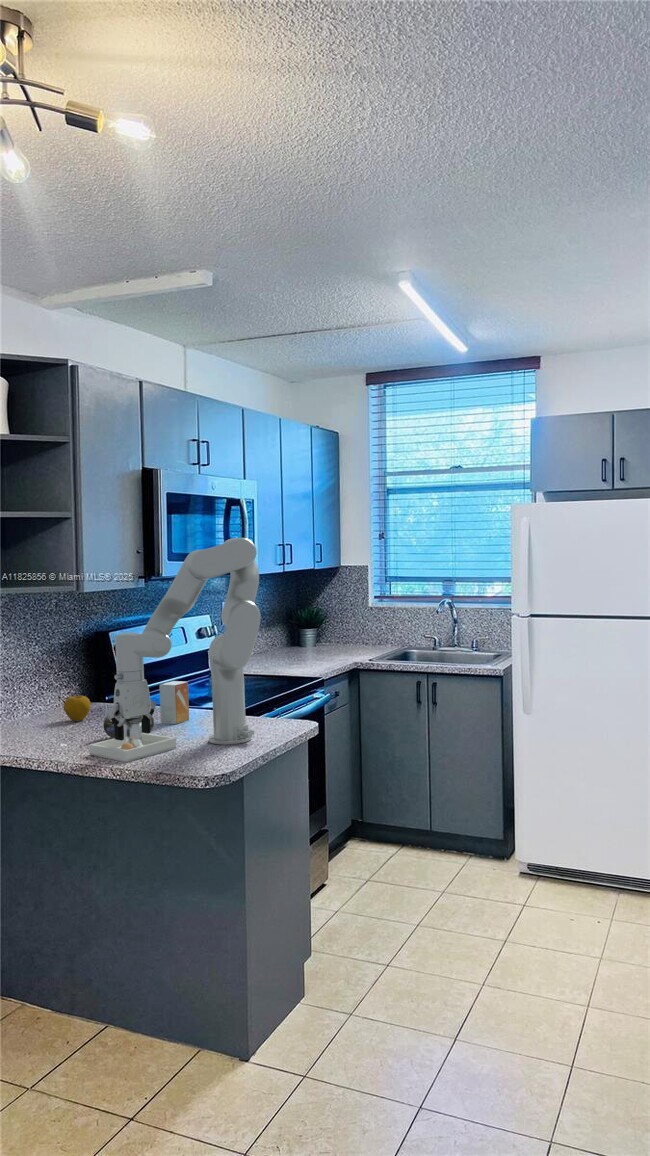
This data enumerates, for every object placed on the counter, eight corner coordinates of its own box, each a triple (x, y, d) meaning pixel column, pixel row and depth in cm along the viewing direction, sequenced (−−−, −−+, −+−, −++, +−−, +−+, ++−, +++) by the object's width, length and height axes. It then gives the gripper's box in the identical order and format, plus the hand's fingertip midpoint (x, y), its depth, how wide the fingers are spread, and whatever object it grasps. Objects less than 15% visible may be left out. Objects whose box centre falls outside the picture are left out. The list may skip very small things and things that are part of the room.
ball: (136, 755, 232) (136, 742, 232) (126, 758, 229) (126, 745, 229) (128, 753, 234) (127, 741, 234) (118, 756, 231) (117, 743, 231)
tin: (104, 739, 257) (102, 712, 256) (104, 737, 260) (103, 710, 260) (154, 735, 260) (153, 708, 259) (154, 733, 263) (153, 707, 262)
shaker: (146, 748, 240) (145, 717, 239) (132, 752, 236) (131, 720, 235) (134, 746, 243) (133, 715, 243) (120, 750, 239) (119, 718, 238)
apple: (74, 724, 281) (73, 697, 281) (58, 722, 287) (57, 695, 286) (96, 719, 288) (95, 693, 288) (80, 717, 294) (79, 691, 294)
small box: (176, 724, 276) (175, 685, 275) (160, 723, 278) (158, 684, 278) (190, 719, 283) (188, 681, 283) (174, 718, 286) (172, 680, 285)
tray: (176, 748, 242) (176, 737, 242) (127, 762, 227) (127, 751, 227) (139, 742, 251) (138, 732, 251) (89, 755, 237) (89, 744, 237)
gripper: (114, 681, 229) (117, 744, 230) (162, 673, 243) (164, 731, 244) (97, 680, 234) (99, 741, 234) (144, 671, 248) (147, 729, 248)
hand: (132, 736), depth 239 cm, fingers open, 9 cm apart
